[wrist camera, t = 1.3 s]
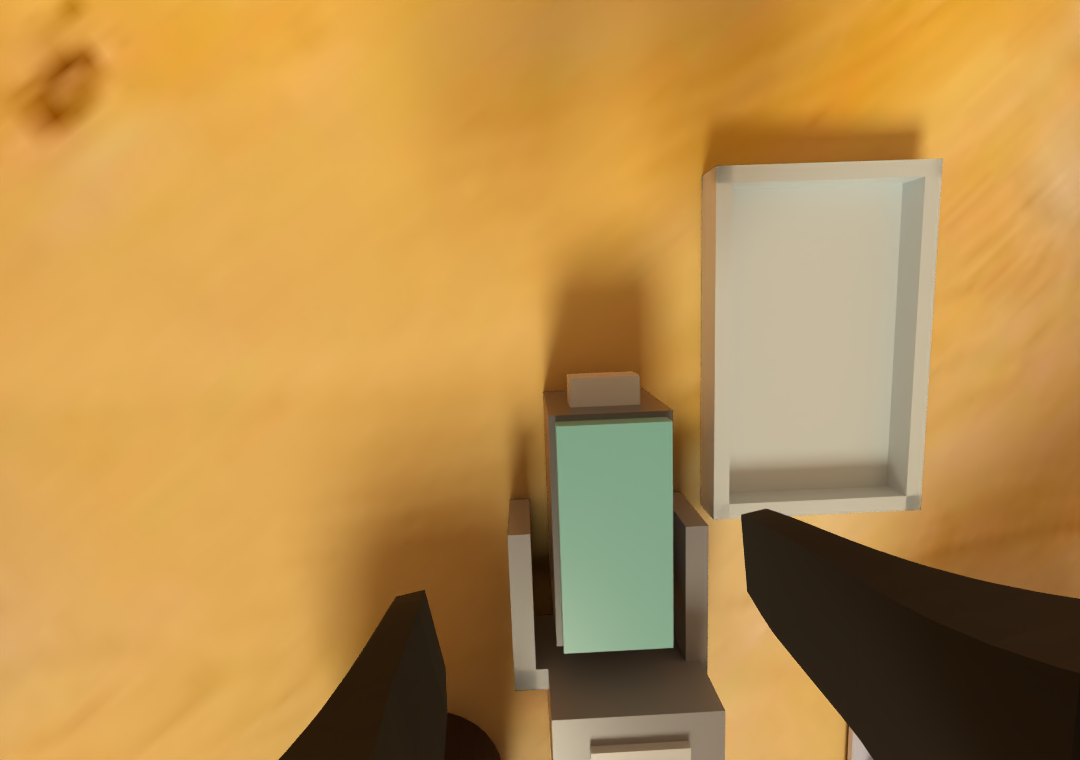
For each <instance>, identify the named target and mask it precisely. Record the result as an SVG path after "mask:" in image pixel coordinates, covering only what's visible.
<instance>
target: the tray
mask: <svg viewBox="0 0 1080 760" xmlns="http://www.w3.org/2000/svg"><path fill="white" fill-rule="evenodd" d="M942 165H943V159H912V160H881V161H850V162H819V163H789V164H758V165H727V166H715V167H714V168H713V169H711V170H710V171H708V172H707V173H705V174H704V175H703V176H702V301H701V506H702V507H703V508H704V509H705V510H706V511H707V513H708V514H709V515H710V516H711V517H712V518H713V520H718V519H739V518H741V514H745V513H749V512H754V511H758V510H762V509H770V510H773V511H776V512H779V513H782V514H784V515H787V516H802V515H823V514H844V513H865V512H886V511H907V510H921V494H922V478H923V463H924V447H925V431H926V416H927V400H928V384H929V369H930V353H931V337H932V321H933V306H934V290H935V274H936V259H937V243H938V227H939V212H940V196H941V180H942Z"/></svg>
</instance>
